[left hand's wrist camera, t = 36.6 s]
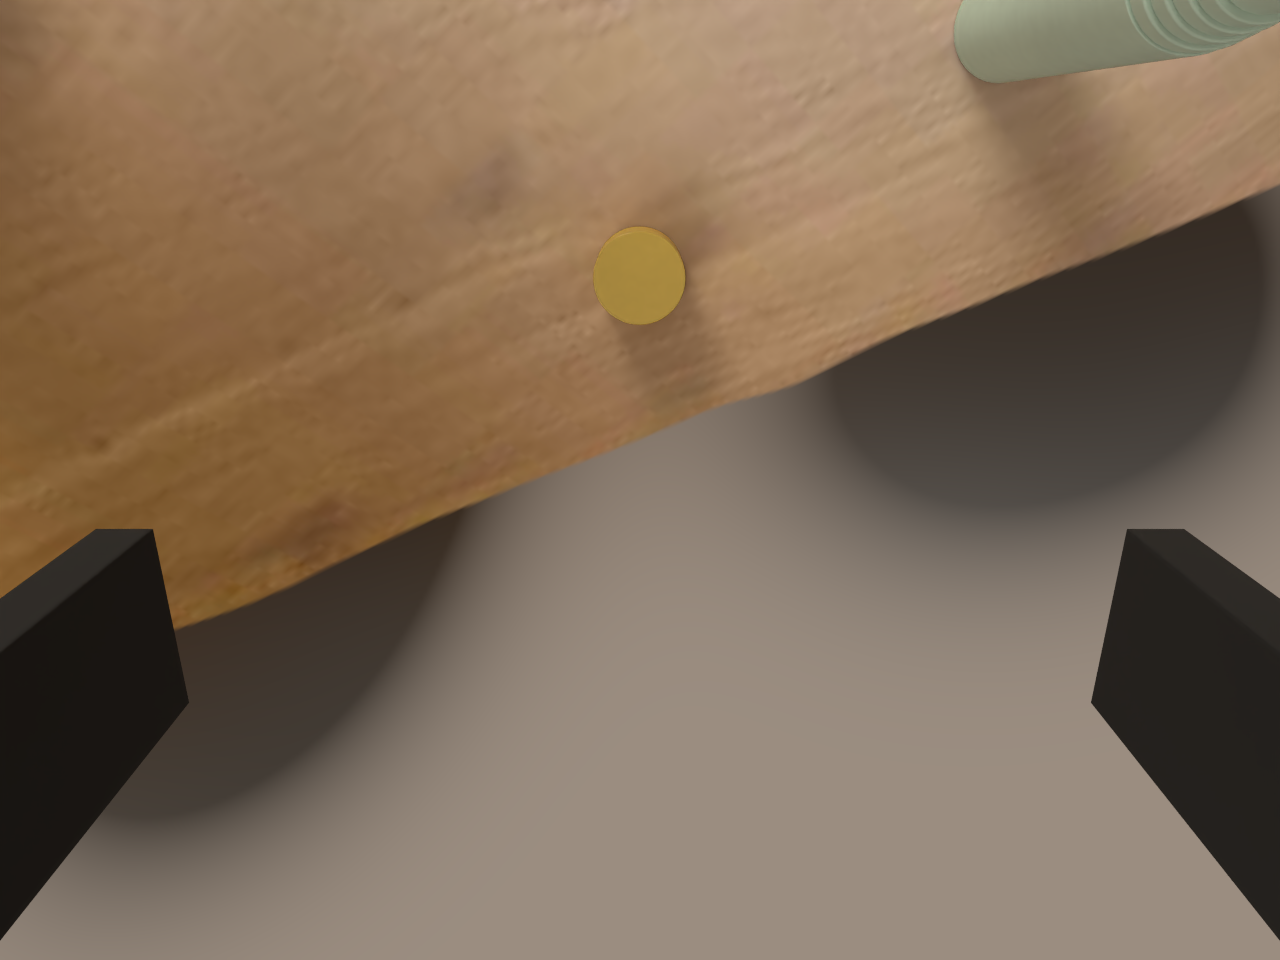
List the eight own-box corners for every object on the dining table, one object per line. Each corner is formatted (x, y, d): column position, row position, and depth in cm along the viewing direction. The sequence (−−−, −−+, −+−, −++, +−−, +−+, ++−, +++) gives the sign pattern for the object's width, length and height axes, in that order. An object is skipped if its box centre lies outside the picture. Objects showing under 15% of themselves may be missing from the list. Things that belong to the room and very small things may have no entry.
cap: (701, 265, 44) (704, 273, 42) (645, 332, 46) (645, 343, 43) (633, 207, 43) (632, 211, 41) (577, 277, 45) (574, 285, 42)
